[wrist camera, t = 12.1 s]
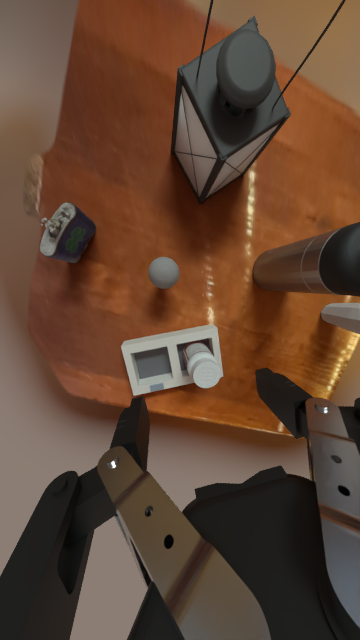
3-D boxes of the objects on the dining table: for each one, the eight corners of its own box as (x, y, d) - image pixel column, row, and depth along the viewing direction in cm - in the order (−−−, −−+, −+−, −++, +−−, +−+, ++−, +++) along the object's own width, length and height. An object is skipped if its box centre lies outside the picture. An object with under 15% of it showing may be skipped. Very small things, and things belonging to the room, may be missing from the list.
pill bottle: (201, 367, 43) (215, 395, 32) (178, 359, 42) (184, 385, 31) (211, 344, 43) (229, 365, 32) (188, 336, 41) (198, 355, 30)
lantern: (244, 175, 36) (501, -154, 9) (199, 205, 37) (320, -30, 9) (218, 117, 34) (463, -577, 7) (169, 150, 34) (214, -399, 7)
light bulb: (171, 290, 39) (175, 293, 30) (147, 283, 38) (143, 283, 29) (178, 266, 38) (184, 260, 29) (154, 258, 38) (152, 250, 28)
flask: (76, 266, 36) (43, 258, 26) (63, 257, 36) (23, 246, 25) (99, 226, 35) (74, 201, 25) (85, 216, 35) (53, 187, 24)
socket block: (212, 324, 42) (217, 327, 38) (218, 369, 45) (223, 377, 41) (124, 341, 40) (120, 346, 37) (135, 387, 43) (133, 396, 39)
